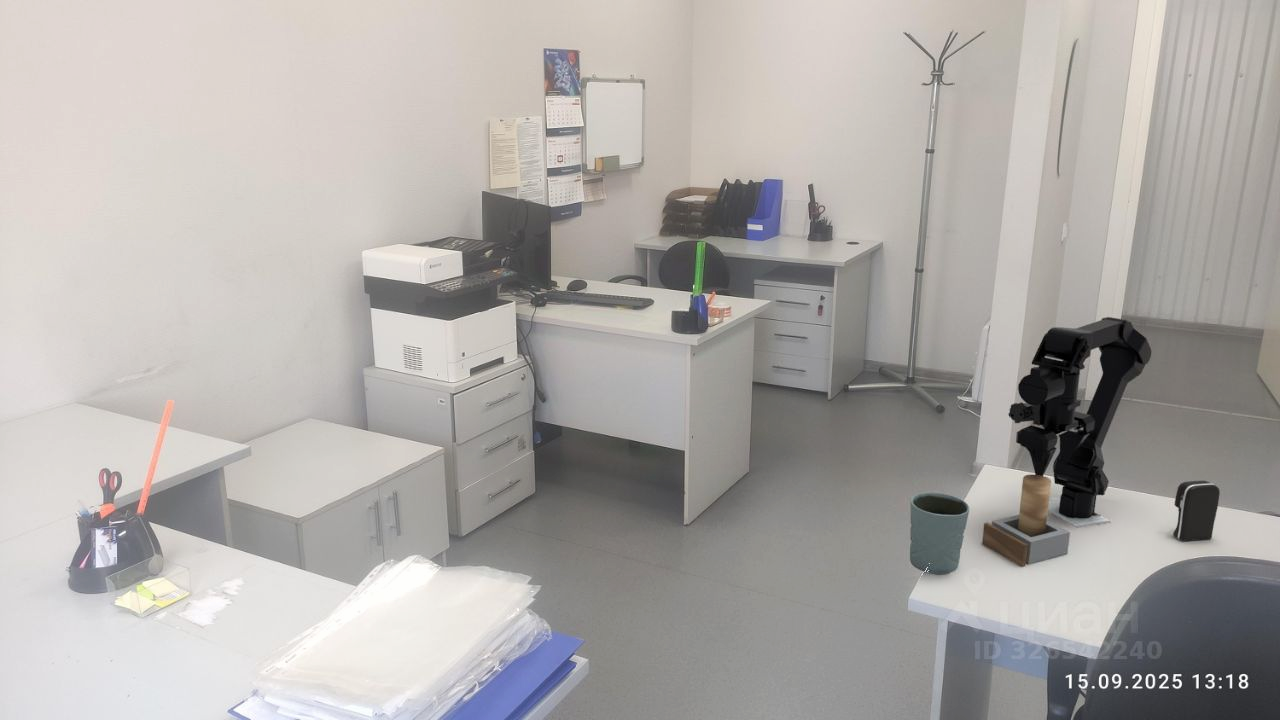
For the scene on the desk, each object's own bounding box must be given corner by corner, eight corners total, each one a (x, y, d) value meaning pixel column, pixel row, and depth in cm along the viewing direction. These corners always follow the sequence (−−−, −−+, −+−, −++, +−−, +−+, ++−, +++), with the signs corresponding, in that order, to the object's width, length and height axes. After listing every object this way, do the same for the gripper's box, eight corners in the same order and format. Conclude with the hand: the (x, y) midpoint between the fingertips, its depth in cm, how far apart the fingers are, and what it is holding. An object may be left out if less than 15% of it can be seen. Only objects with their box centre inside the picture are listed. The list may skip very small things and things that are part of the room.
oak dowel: (1037, 537, 171) (1045, 474, 168) (1047, 548, 166) (1055, 484, 163) (1012, 537, 171) (1019, 474, 168) (1021, 548, 167) (1028, 484, 163)
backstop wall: (985, 543, 171) (987, 522, 170) (1025, 566, 162) (1027, 544, 161) (982, 544, 171) (984, 523, 170) (1022, 567, 162) (1024, 545, 161)
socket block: (1027, 532, 175) (1029, 511, 174) (1067, 553, 167) (1070, 532, 165) (989, 542, 172) (992, 520, 170) (1028, 564, 163) (1031, 542, 162)
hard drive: (1034, 500, 188) (1077, 524, 177) (1067, 496, 191) (1111, 519, 179) (1033, 508, 189) (1076, 532, 177) (1066, 503, 191) (1110, 527, 179)
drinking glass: (895, 556, 167) (899, 497, 164) (937, 545, 171) (941, 488, 168) (932, 581, 158) (937, 519, 155) (976, 569, 162) (981, 508, 159)
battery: (1198, 530, 175) (1207, 477, 172) (1213, 539, 172) (1222, 484, 169) (1166, 533, 174) (1174, 479, 171) (1180, 542, 171) (1189, 487, 168)
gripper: (1044, 376, 180) (1036, 448, 184) (994, 394, 169) (986, 470, 173) (1100, 388, 171) (1090, 464, 175) (1050, 408, 160) (1041, 488, 164)
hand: (1051, 471), depth 172 cm, fingers open, 9 cm apart
